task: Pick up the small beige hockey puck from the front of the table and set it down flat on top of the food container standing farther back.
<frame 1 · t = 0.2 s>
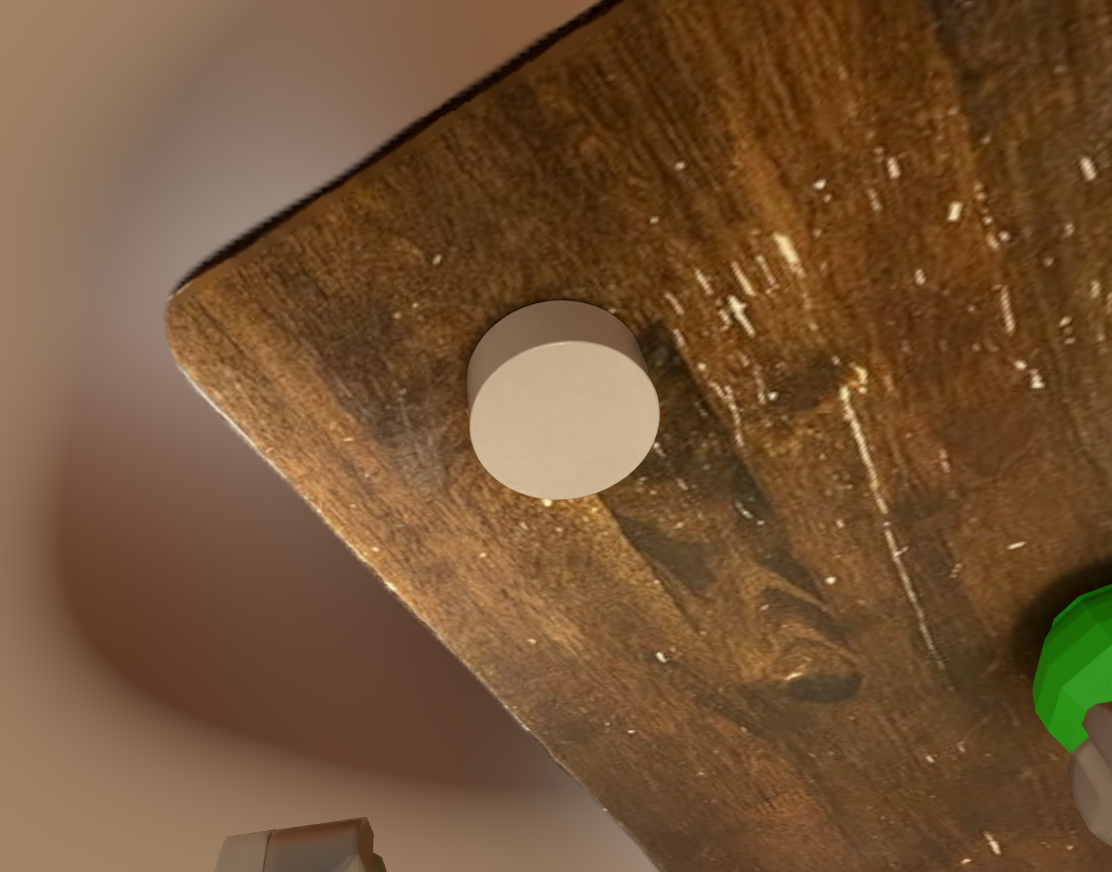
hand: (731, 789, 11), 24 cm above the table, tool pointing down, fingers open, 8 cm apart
beige hockey puck: (556, 379, 36), on the table
plastic bottle: (1099, 619, 47), on the table
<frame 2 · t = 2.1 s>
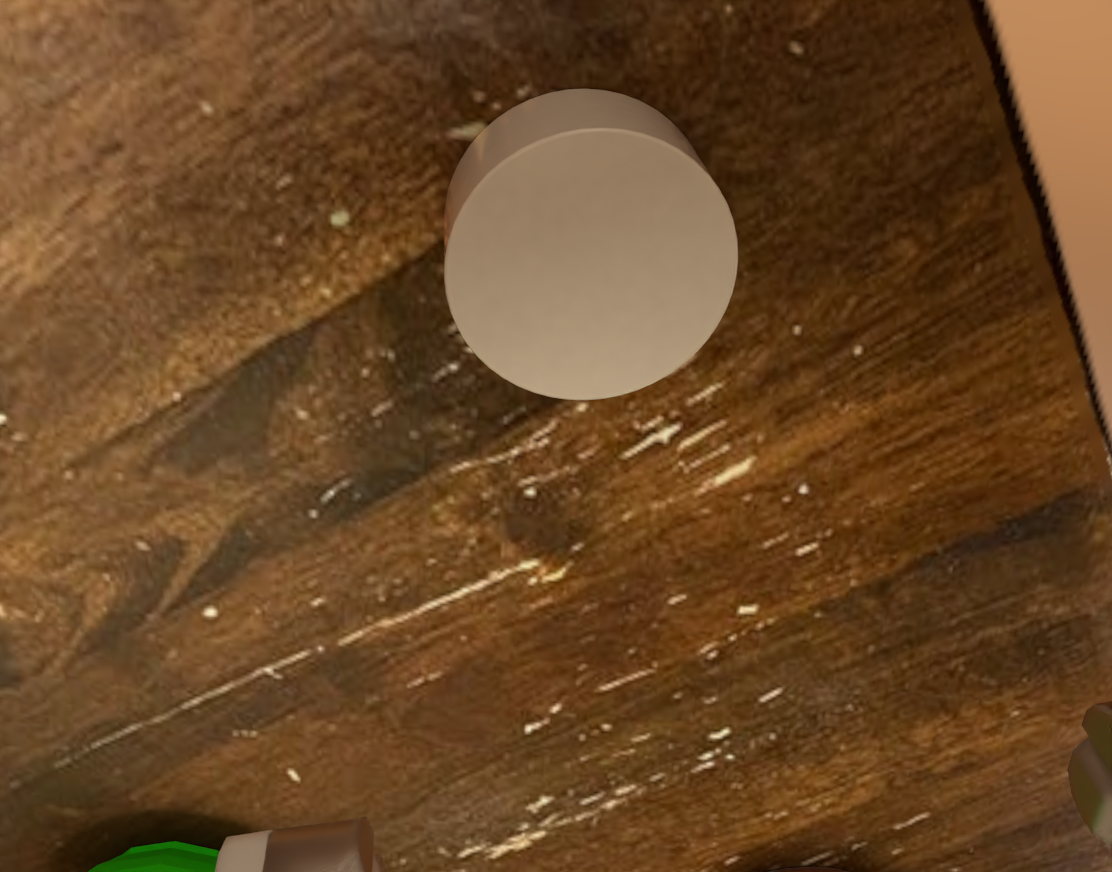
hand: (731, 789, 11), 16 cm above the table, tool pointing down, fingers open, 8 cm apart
beige hockey puck: (577, 224, 24), on the table
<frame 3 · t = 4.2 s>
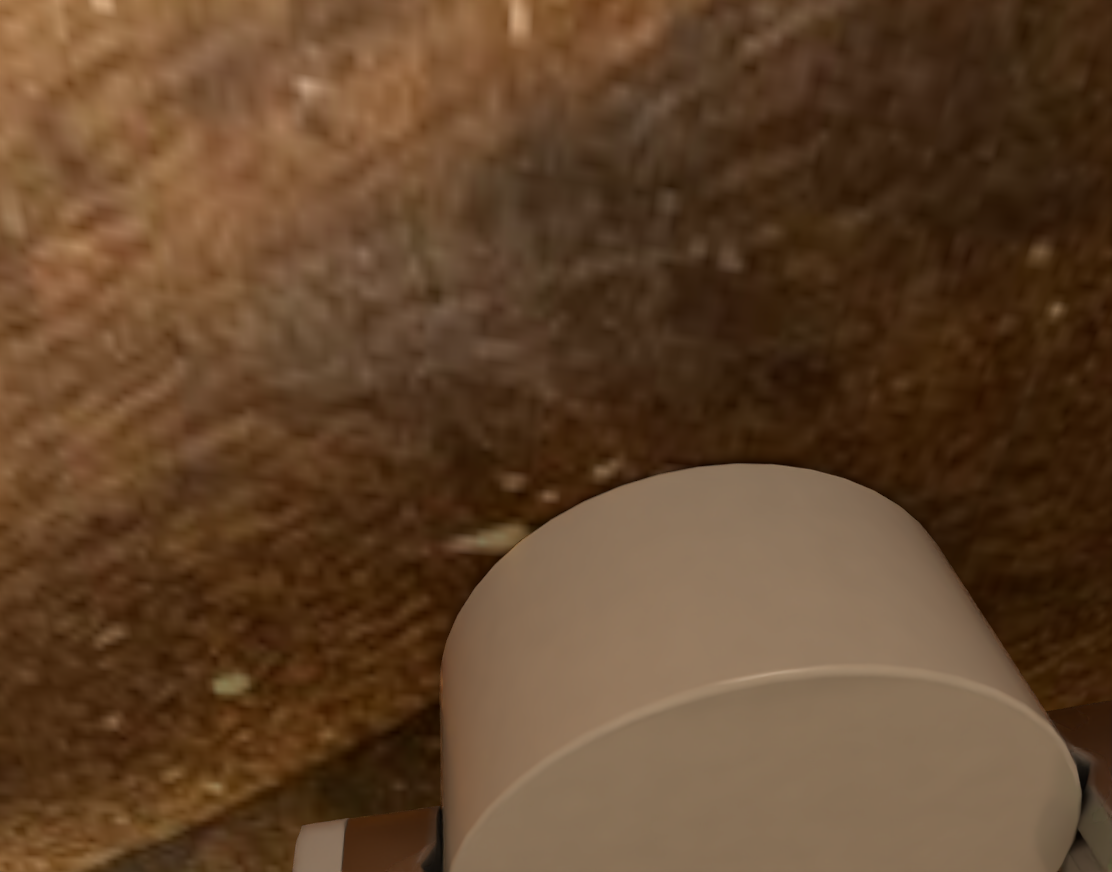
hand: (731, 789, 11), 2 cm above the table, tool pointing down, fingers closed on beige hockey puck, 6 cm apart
beige hockey puck: (699, 668, 12), on the table, touching gripper
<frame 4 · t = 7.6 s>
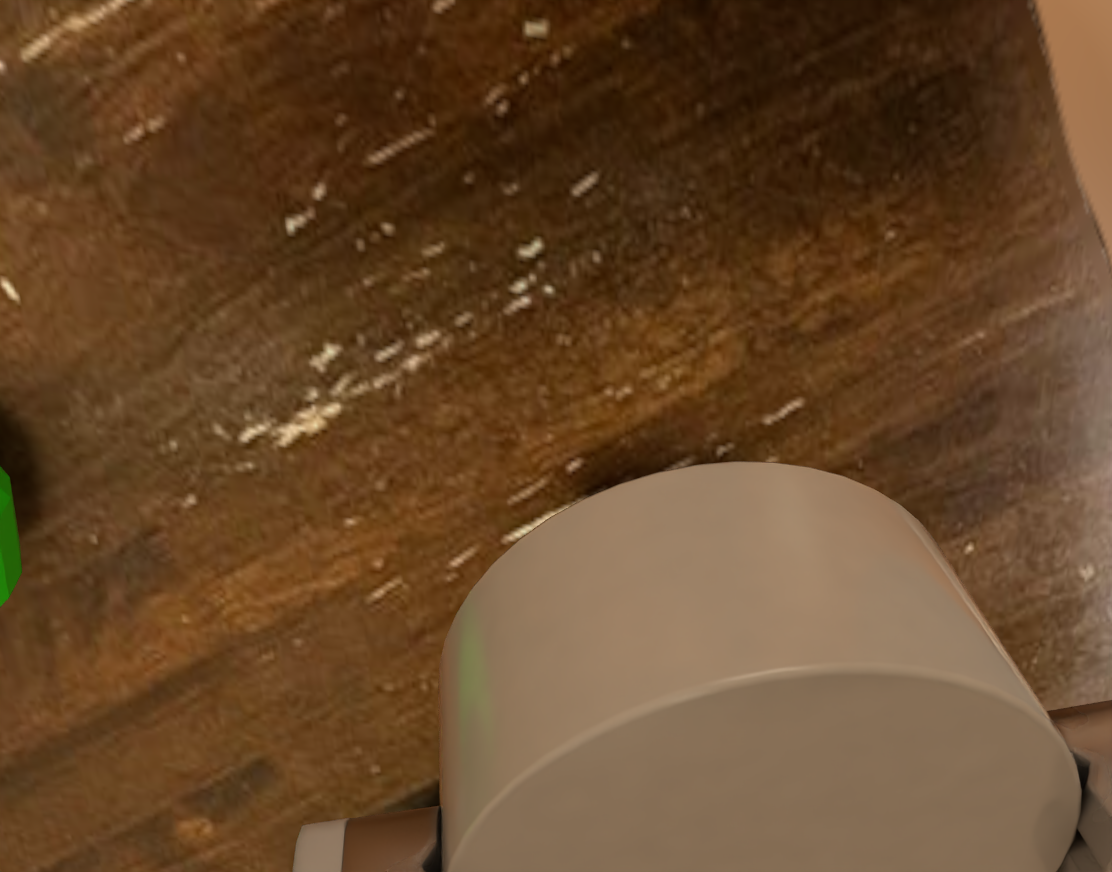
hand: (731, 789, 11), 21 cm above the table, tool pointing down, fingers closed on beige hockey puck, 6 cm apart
beige hockey puck: (698, 667, 12), point 20 cm above the table, touching gripper
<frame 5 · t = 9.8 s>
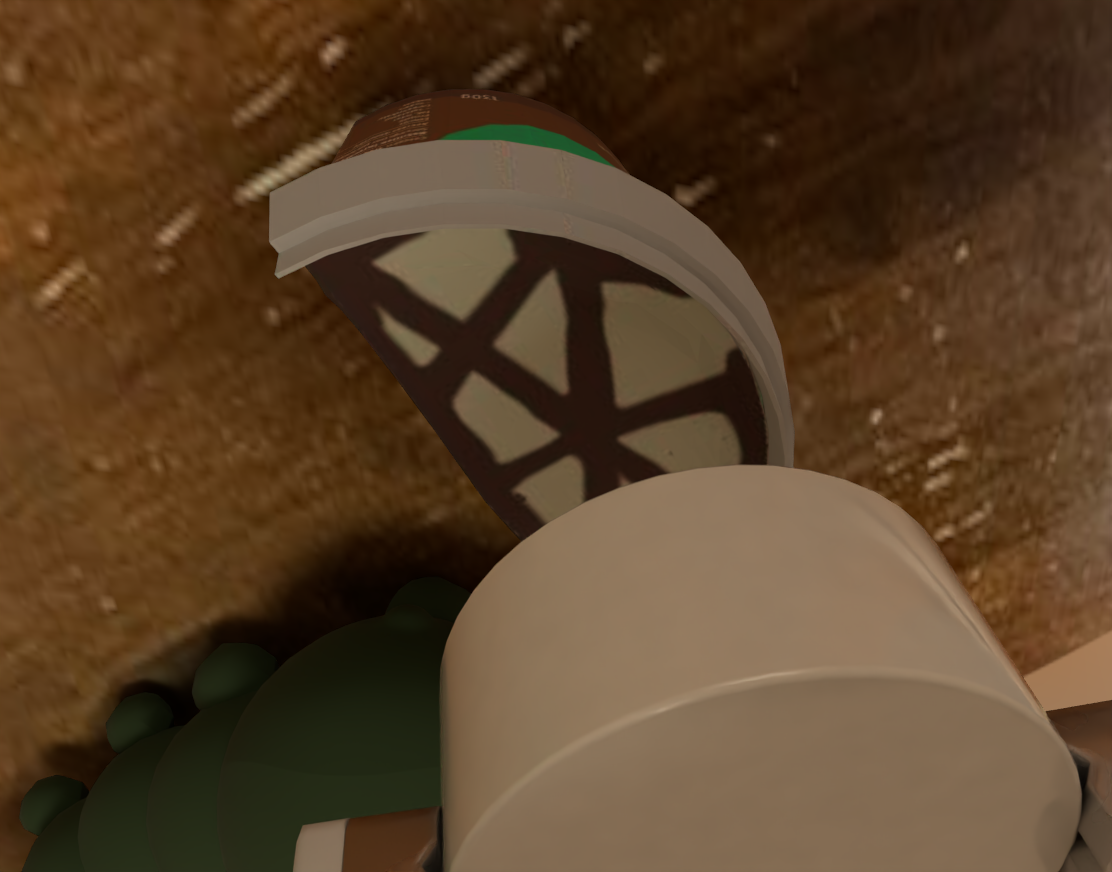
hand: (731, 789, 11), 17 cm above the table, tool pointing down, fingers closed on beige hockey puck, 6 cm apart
toy figurine: (284, 684, 33), on the table
food container: (564, 215, 25), on the table
beige hockey puck: (699, 669, 12), point 15 cm above the table, touching gripper
when the fingers open (12 cm above the table, at t = 11.6 s): beige hockey puck stays where it is, resting on food container.
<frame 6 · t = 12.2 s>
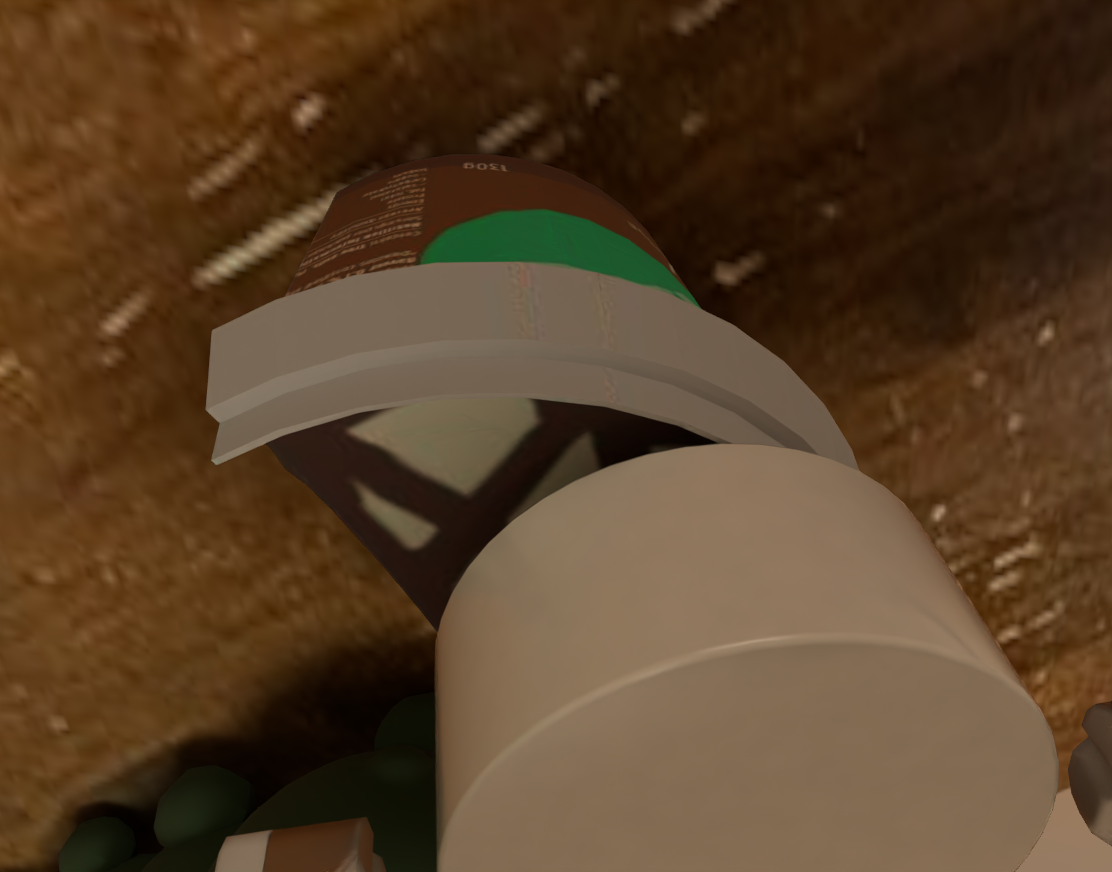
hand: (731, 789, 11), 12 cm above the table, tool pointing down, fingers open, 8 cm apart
toy figurine: (263, 802, 30), on the table
food container: (585, 296, 21), on the table, touching beige hockey puck
beige hockey puck: (689, 647, 13), point 10 cm above the table, touching food container
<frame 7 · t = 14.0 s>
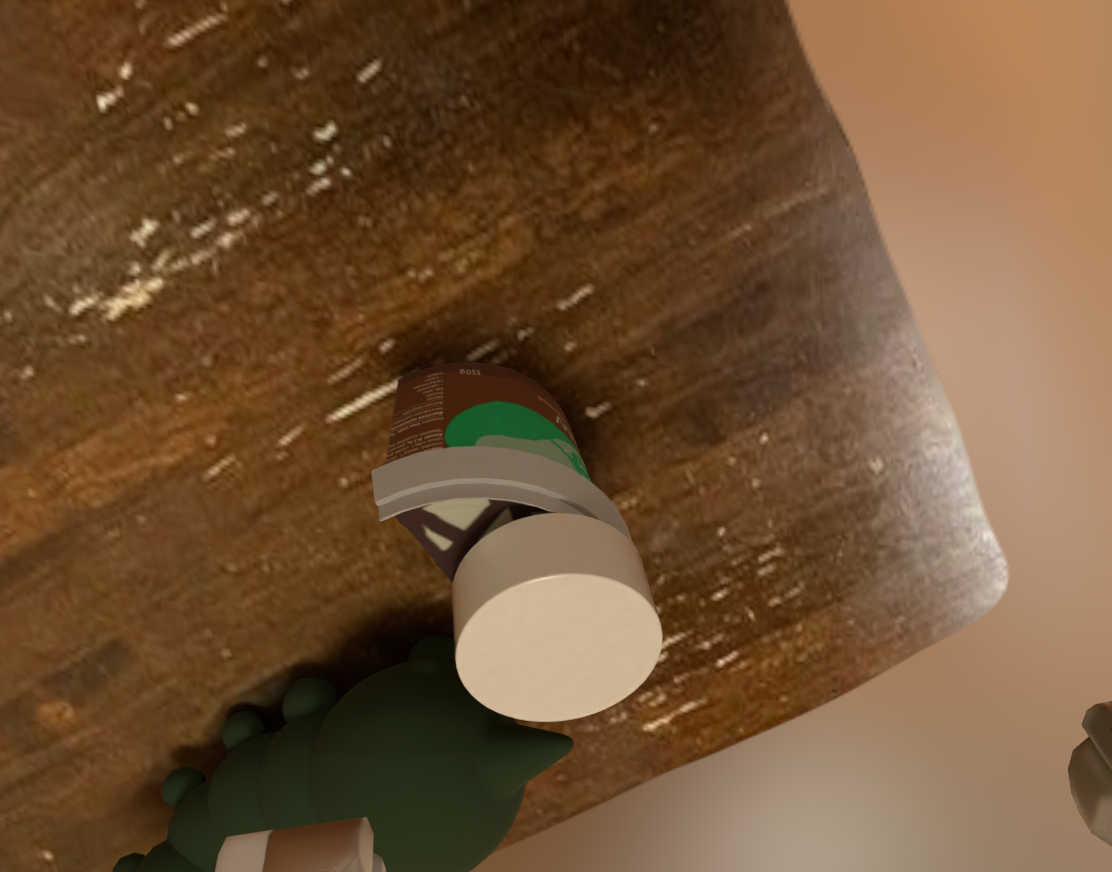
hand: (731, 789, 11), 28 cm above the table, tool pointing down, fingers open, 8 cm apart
toy figurine: (337, 704, 50), on the table
food container: (520, 423, 41), on the table, touching beige hockey puck
beige hockey puck: (549, 587, 33), point 10 cm above the table, touching food container
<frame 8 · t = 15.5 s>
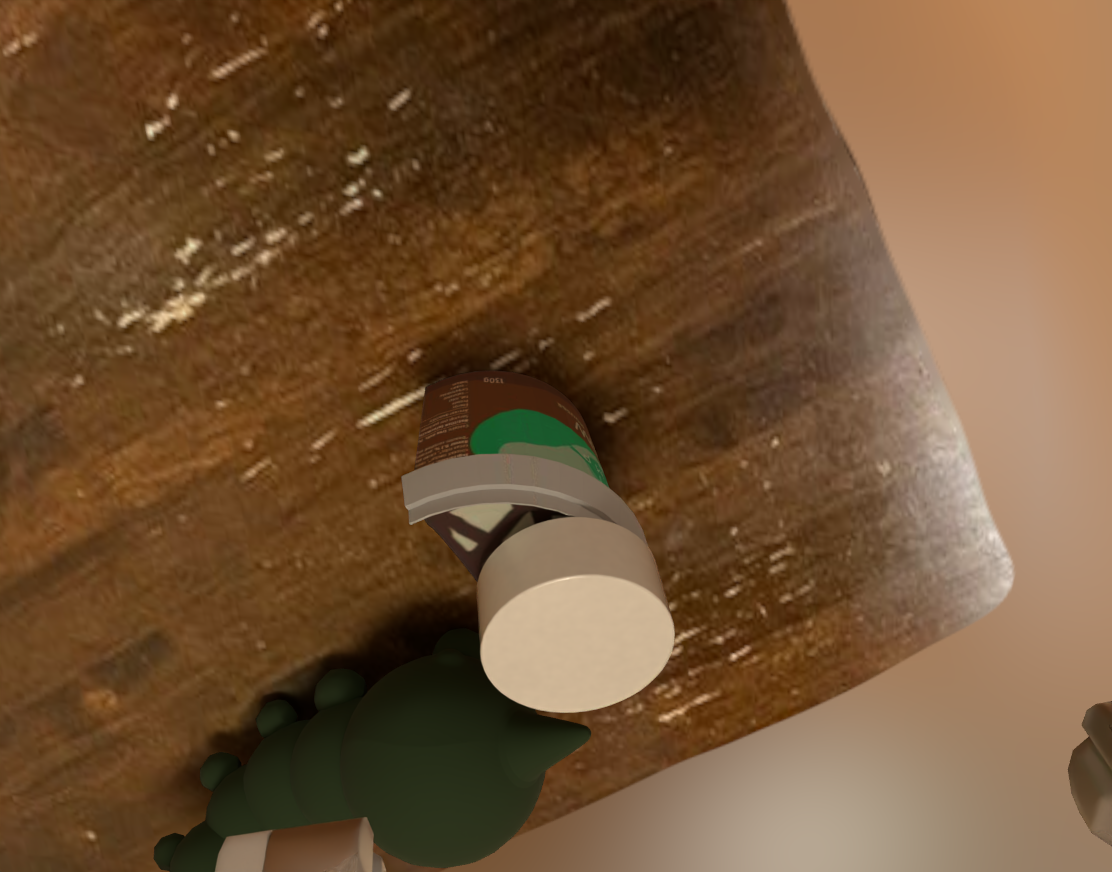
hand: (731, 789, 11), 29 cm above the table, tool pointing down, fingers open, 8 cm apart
toy figurine: (365, 694, 52), on the table
food container: (541, 428, 43), on the table, touching beige hockey puck
beige hockey puck: (568, 586, 35), point 10 cm above the table, touching food container
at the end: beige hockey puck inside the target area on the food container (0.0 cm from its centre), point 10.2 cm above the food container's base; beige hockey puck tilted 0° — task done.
